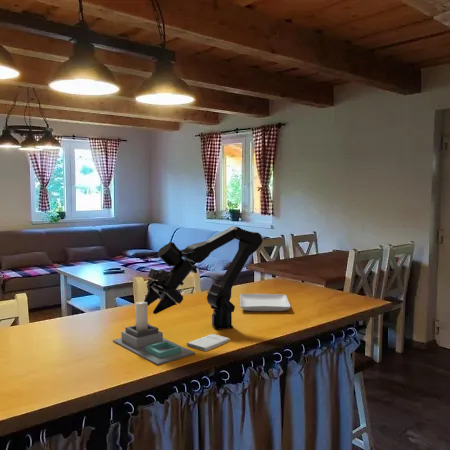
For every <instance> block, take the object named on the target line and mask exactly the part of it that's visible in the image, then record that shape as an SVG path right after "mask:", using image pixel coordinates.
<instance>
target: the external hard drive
mask: <svg viewBox="0 0 450 450" xmlns="http://www.w3.org/2000/svg"><path fill="white" fill-rule="evenodd" d="M230 339H231V338H229V337H226V336H222V335H218V334H214V333H211V334H208V335H206V336H203V337H199V338H197V339H195V340H191V341H189V342H187V343H186V346H187V347H190V348H193V349H197V350H198V351H199V350H200V351H202V352H207V351H209V350H212V349H215V348H216V347H219V346H222V345H224V344H226V342H227V343H229V342H230ZM228 341H229V342H228ZM221 344H222V345H221Z"/></svg>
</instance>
